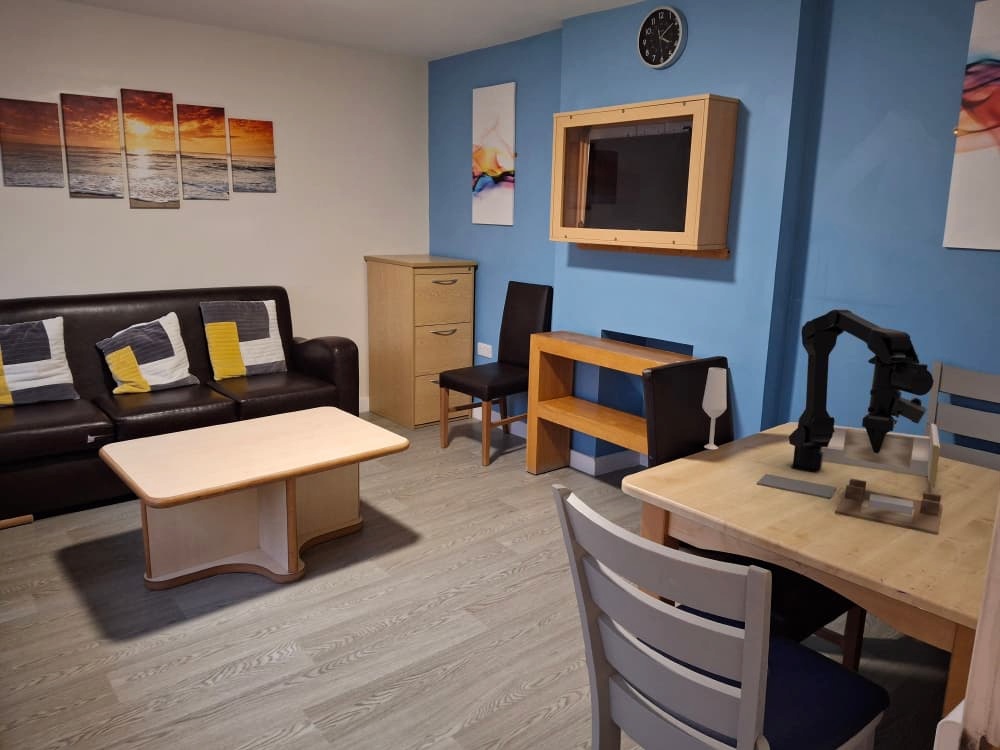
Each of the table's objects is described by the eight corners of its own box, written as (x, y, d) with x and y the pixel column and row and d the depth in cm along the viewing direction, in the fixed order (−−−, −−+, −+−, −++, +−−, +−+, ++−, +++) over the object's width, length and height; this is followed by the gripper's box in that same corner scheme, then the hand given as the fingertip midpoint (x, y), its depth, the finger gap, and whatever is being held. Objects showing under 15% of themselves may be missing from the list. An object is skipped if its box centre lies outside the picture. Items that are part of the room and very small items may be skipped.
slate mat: (756, 484, 181) (756, 482, 180) (765, 475, 188) (765, 473, 188) (829, 498, 171) (830, 497, 171) (836, 488, 179) (836, 487, 179)
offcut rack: (834, 513, 162) (836, 497, 162) (848, 489, 179) (849, 475, 178) (937, 534, 151) (940, 518, 151) (942, 507, 168) (944, 492, 167)
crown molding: (936, 439, 194) (938, 433, 191) (934, 480, 189) (937, 475, 186) (810, 424, 207) (811, 418, 204) (806, 462, 202) (806, 456, 199)
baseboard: (934, 494, 173) (940, 446, 171) (920, 492, 174) (926, 444, 172) (931, 466, 199) (937, 424, 198) (919, 464, 201) (925, 422, 199)
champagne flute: (727, 453, 207) (734, 371, 203) (706, 453, 206) (712, 371, 202) (715, 446, 214) (721, 366, 210) (694, 447, 212) (700, 367, 208)
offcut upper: (868, 507, 160) (869, 499, 159) (869, 501, 163) (870, 493, 163) (912, 515, 156) (913, 507, 155) (911, 508, 159) (913, 501, 159)
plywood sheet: (842, 457, 171) (845, 430, 170) (844, 454, 174) (847, 428, 173) (909, 468, 164) (913, 441, 163) (910, 465, 167) (914, 438, 165)
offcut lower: (860, 513, 161) (861, 505, 160) (863, 507, 165) (864, 499, 164) (911, 524, 155) (912, 516, 155) (913, 517, 159) (914, 509, 159)
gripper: (924, 398, 154) (913, 468, 157) (928, 384, 169) (919, 448, 172) (866, 390, 159) (857, 458, 162) (875, 378, 175) (867, 440, 178)
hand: (877, 451), depth 169 cm, fingers closed on plywood sheet, 3 cm apart
